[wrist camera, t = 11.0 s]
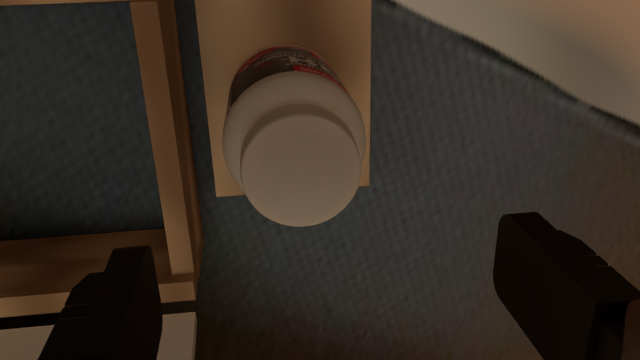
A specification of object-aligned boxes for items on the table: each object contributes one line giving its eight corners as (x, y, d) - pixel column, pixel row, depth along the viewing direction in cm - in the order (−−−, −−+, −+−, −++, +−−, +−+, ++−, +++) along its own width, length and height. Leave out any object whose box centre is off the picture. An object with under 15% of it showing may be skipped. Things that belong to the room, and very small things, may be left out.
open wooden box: (-68, 263, 29) (-133, 329, 24) (-169, -22, 23) (-282, -12, 18) (204, 241, 30) (195, 299, 25) (169, -33, 25) (149, -27, 20)
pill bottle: (333, 34, 26) (378, 81, 17) (344, 141, 28) (390, 234, 19) (218, 50, 25) (201, 107, 16) (239, 157, 28) (233, 259, 19)
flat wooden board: (217, 190, 29) (216, 196, 28) (195, -10, 25) (193, -8, 24) (366, 179, 30) (369, 185, 29) (368, -16, 26) (371, -15, 25)
